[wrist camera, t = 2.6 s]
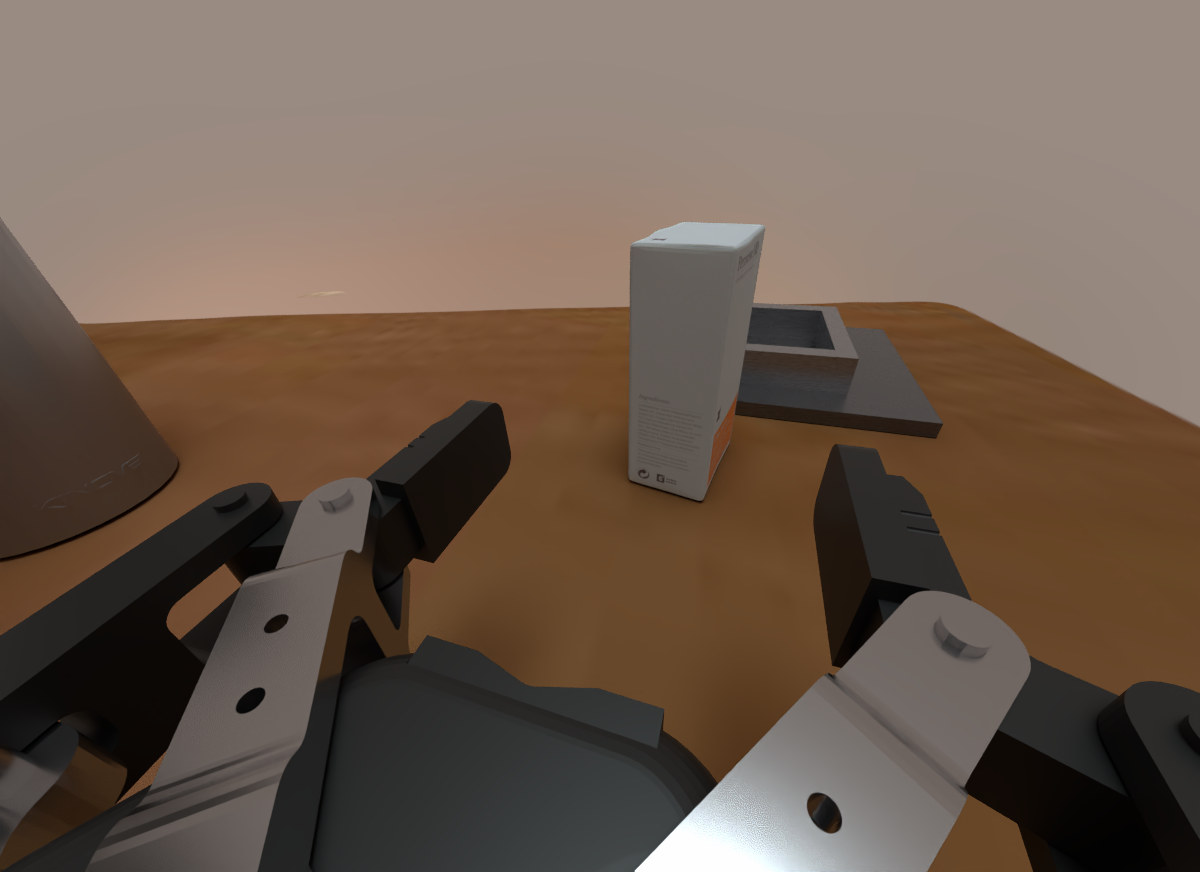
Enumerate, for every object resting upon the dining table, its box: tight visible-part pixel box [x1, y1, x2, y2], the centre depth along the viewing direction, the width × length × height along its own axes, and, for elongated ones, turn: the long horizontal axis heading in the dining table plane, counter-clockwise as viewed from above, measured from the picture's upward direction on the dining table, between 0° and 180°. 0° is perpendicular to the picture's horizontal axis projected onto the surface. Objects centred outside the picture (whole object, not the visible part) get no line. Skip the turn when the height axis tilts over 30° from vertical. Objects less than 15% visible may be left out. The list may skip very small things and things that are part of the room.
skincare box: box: [628, 222, 765, 501], centre depth 21 cm, size 6×4×12 cm
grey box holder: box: [735, 303, 943, 438], centre depth 33 cm, size 18×16×4 cm
